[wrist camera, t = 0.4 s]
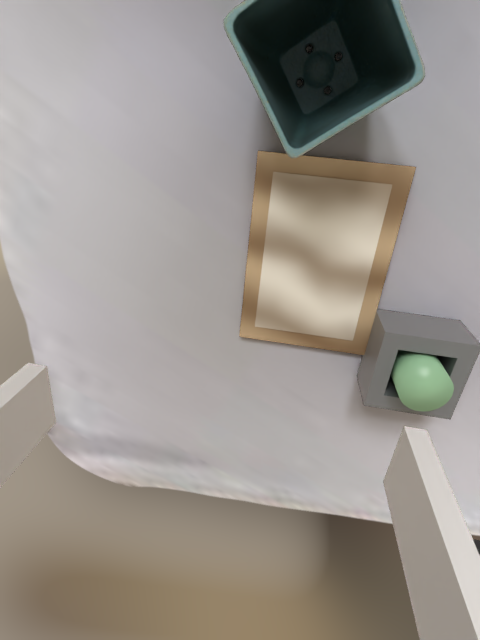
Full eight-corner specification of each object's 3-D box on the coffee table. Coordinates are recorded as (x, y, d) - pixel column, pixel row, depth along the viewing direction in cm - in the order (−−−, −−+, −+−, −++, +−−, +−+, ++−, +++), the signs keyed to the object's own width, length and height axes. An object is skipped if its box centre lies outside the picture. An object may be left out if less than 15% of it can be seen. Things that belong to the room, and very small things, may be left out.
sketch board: (258, 150, 33) (257, 150, 32) (414, 166, 31) (416, 167, 31) (240, 333, 41) (239, 337, 40) (363, 352, 39) (364, 355, 39)
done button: (394, 337, 36) (406, 365, 32) (442, 345, 36) (461, 373, 31) (382, 376, 38) (392, 406, 34) (427, 383, 37) (443, 415, 33)
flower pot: (293, 156, 32) (290, 162, 24) (241, 50, 30) (219, 19, 22) (395, 93, 30) (429, 78, 22) (347, -30, 27) (366, -100, 19)
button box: (375, 308, 37) (385, 332, 33) (460, 320, 37) (481, 345, 32) (356, 376, 41) (363, 405, 36) (433, 387, 40) (450, 419, 36)
